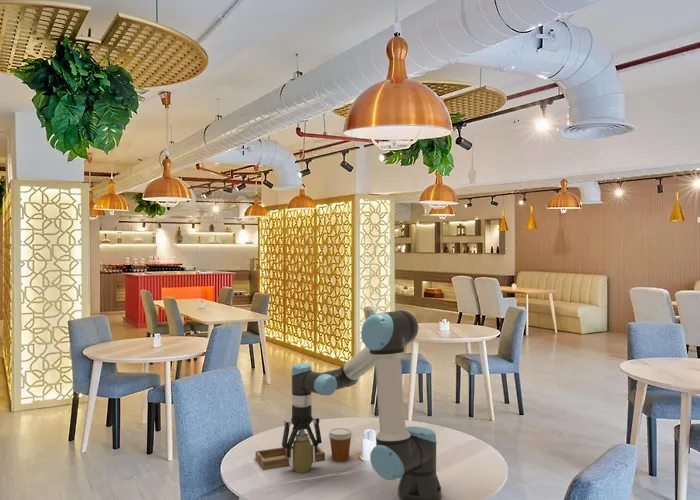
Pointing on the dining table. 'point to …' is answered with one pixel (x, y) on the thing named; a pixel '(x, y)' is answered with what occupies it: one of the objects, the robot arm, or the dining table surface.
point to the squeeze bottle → (302, 453)
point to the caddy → (280, 457)
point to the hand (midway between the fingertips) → (301, 463)
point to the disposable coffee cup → (340, 443)
